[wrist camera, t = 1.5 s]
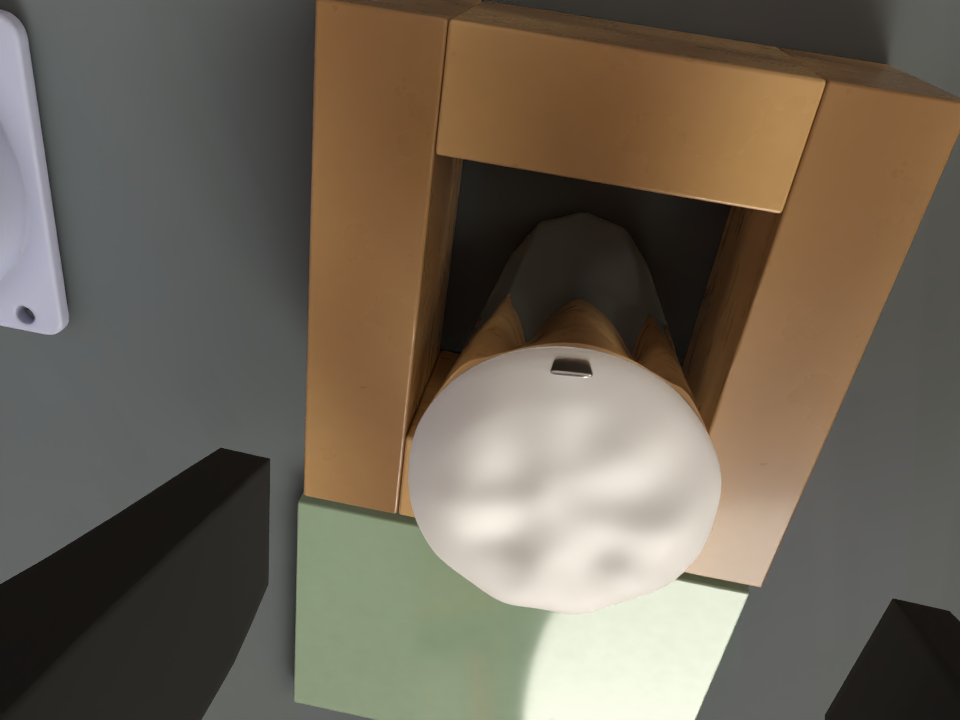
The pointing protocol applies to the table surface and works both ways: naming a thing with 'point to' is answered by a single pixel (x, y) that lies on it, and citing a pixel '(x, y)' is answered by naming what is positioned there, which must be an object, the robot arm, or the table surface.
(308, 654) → the tile
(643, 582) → the milkshake
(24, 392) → the table surface
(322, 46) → the holder
